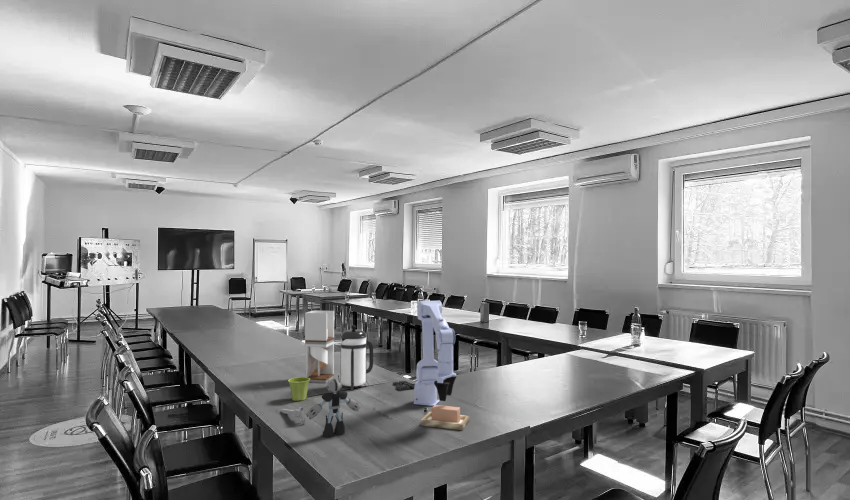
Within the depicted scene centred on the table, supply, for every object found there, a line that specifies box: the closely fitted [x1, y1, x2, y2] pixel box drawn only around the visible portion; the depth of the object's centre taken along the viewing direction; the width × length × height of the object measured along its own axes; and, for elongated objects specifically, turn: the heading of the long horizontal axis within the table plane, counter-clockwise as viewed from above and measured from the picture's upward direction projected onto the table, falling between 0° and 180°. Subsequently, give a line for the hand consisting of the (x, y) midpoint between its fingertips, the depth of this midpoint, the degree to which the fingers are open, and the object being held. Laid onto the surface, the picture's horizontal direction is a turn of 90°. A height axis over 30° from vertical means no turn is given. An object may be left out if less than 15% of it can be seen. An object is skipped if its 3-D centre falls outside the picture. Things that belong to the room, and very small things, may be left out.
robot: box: [306, 375, 361, 438], centre depth 163 cm, size 20×5×20 cm, turn 120°
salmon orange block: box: [431, 404, 461, 423], centre depth 173 cm, size 10×4×5 cm, turn 71°
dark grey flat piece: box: [392, 380, 415, 392], centre depth 226 cm, size 20×25×3 cm
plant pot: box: [287, 376, 310, 402], centre depth 205 cm, size 9×9×9 cm
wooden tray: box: [420, 411, 470, 431], centre depth 173 cm, size 16×10×2 cm, turn 71°
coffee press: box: [339, 324, 374, 391], centre depth 227 cm, size 17×16×30 cm
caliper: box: [280, 406, 306, 426], centre depth 180 cm, size 21×1×6 cm, turn 39°
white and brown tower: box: [304, 310, 335, 384], centre depth 239 cm, size 11×11×35 cm
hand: (445, 397), depth 174 cm, fingers open, 7 cm apart
